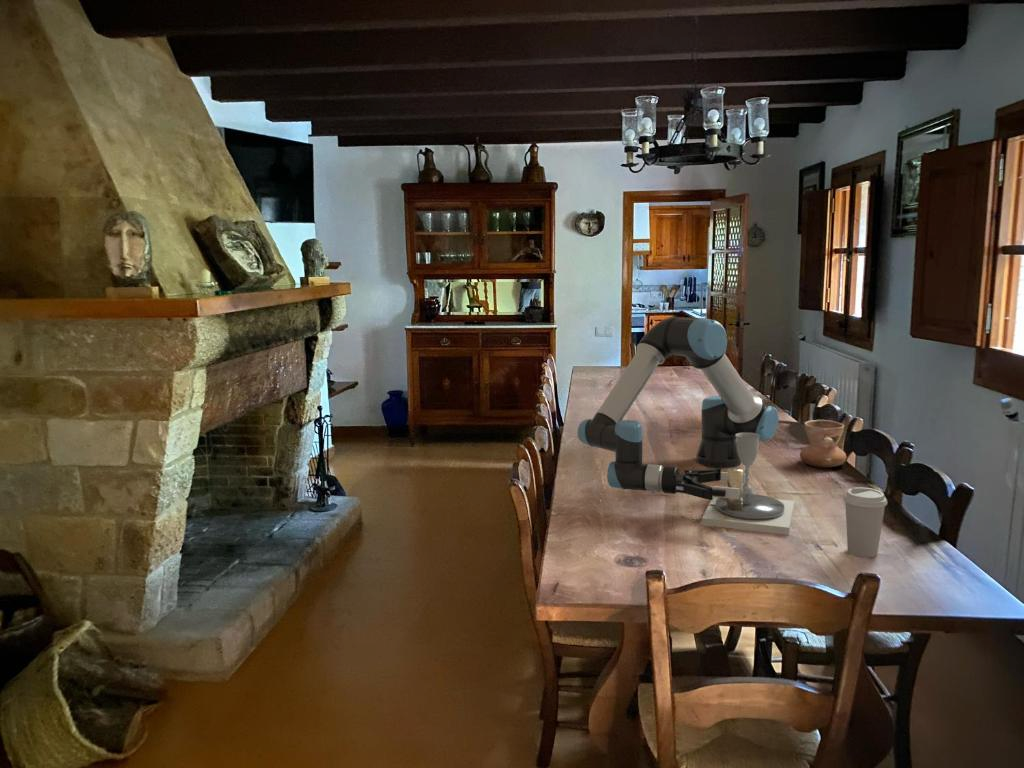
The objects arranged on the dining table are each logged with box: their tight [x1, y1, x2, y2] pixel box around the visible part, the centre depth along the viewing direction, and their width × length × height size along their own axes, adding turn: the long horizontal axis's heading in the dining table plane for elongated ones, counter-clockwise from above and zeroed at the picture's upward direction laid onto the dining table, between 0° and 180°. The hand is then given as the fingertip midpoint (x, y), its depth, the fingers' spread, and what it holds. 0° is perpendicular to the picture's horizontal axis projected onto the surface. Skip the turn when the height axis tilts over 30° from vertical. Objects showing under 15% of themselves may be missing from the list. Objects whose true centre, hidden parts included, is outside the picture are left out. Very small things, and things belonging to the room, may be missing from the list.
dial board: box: [701, 497, 796, 536], centre depth 207 cm, size 22×22×2 cm
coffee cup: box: [842, 486, 888, 559], centre depth 179 cm, size 10×10×15 cm
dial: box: [716, 466, 784, 520], centre depth 206 cm, size 18×18×12 cm
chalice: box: [736, 432, 760, 494], centre depth 225 cm, size 7×7×18 cm
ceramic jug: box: [799, 419, 847, 469], centre depth 252 cm, size 18×14×14 cm
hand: (742, 486), depth 201 cm, fingers open, 13 cm apart
